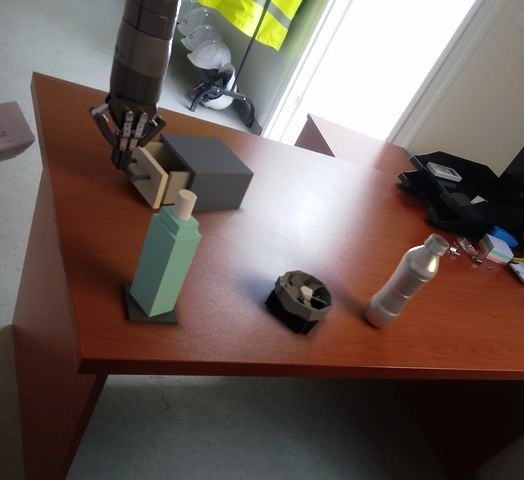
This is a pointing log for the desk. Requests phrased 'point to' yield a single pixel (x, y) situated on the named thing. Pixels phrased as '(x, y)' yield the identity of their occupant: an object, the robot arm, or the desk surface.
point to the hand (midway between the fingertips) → (119, 167)
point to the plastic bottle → (405, 282)
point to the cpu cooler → (300, 300)
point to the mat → (140, 316)
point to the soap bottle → (166, 256)
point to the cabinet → (211, 171)
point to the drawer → (157, 173)
